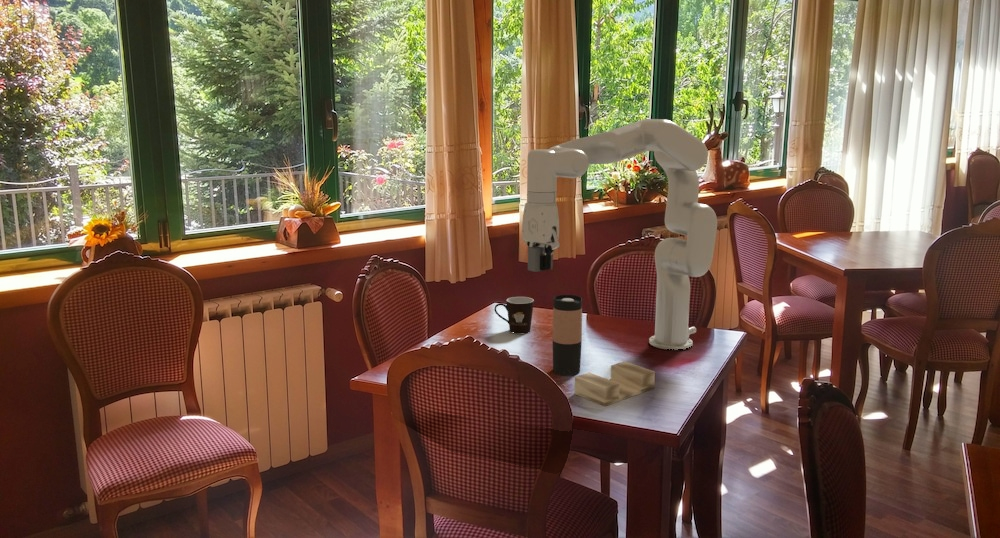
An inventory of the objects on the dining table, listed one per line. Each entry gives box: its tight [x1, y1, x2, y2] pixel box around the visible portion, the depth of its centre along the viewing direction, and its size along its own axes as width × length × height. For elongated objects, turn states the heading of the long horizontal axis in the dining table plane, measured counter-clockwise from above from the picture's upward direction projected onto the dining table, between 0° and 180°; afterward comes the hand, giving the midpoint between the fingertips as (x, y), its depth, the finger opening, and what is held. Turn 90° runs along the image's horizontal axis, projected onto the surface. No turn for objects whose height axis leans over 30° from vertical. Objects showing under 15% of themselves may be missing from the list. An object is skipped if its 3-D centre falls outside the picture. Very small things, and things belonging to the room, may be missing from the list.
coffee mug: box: [493, 296, 535, 334], centre depth 237 cm, size 12×9×10 cm
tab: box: [527, 245, 554, 273], centre depth 197 cm, size 6×3×6 cm, turn 128°
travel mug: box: [552, 294, 583, 377], centre depth 199 cm, size 8×8×20 cm
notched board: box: [574, 361, 656, 407], centre depth 186 cm, size 18×10×4 cm, turn 129°
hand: (540, 267), depth 197 cm, fingers closed on tab, 3 cm apart
